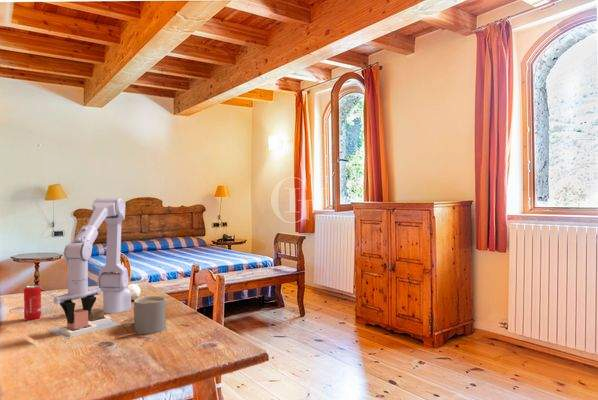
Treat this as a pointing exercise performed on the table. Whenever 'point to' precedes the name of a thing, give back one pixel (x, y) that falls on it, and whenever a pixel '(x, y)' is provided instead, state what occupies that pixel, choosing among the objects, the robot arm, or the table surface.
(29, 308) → the beverage can
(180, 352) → the table surface
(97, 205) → the robot arm
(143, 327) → the coffee mug
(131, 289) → the ornament
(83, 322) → the brick-red block
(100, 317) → the walnut cube
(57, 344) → the table surface
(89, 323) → the board
